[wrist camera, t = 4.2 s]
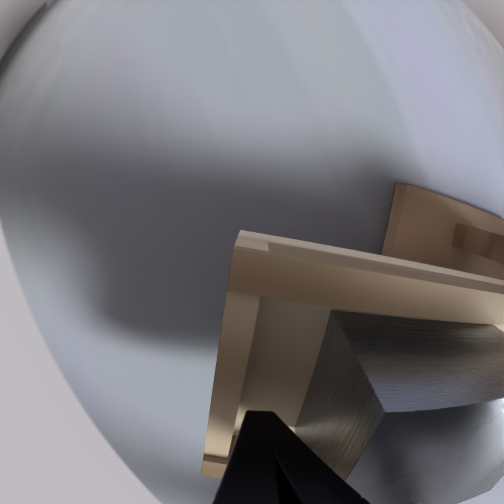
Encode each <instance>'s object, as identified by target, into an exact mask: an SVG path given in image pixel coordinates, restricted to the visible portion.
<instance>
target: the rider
mask: <svg viewBox="0 0 504 504" xmlns="http://www.w3.org/2000/svg"><path fill="white" fill-rule="evenodd" d="M294 429H295V434H296V435H297V436H298V437H299V438H300V439H301V440H302V441H303V442H304V443H305V444H306V445H307V446H308V447H309V448H310V449H311V450H312V451H313V452H314V453H315V454H316V455H317V456H318V457H319V458H320V459H322V460H323V461H324V462H325V463H326V464H327V465H328V466H329V467H330V468H331V469H332V470H333V471H334V472H335V473H337V474H338V475H339V476H340V477H341V478H342V479H343V480H344V481H345V482H346V483H348V484H349V485H350V486H351V487H352V488H353V489H354V490H355V491H357V492H358V493H359V494H360V495H361V496H362V497H361V498H365V499H366V500H367V501H368V502H370V503H371V504H457V503H460V502H463V501H465V500H468V499H471V498H473V497H476V496H478V495H480V494H482V493H485V492H487V491H489V490H491V489H492V488H493V487H494V485H495V484H496V483H497V482H498V481H499V480H500V479H501V478H502V476H503V475H504V332H503V331H502V330H500V329H499V328H497V327H496V326H495V325H492V324H477V323H462V322H448V321H436V320H424V319H413V318H402V317H392V316H382V315H373V314H364V313H355V312H347V311H339V310H331V312H330V316H329V319H328V323H327V327H326V330H325V334H324V337H323V341H322V344H321V348H320V351H319V355H318V358H317V361H316V365H315V368H314V371H313V374H312V377H311V380H310V384H309V387H308V390H307V393H306V396H305V399H304V402H303V405H302V408H301V411H300V413H299V416H298V419H297V422H296V425H295V427H294Z"/></svg>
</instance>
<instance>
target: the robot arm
mask: <svg viewBox="0 0 504 504" xmlns="http://www.w3.org/2000/svg"><path fill="white" fill-rule="evenodd" d="M361 497H362V496H361V495H360V494H359V493H358V492H357V491H355V490H354V489H353V488H352V487H351V486H350V485H349V484H348V483H346V482H345V481H344V480H343V479H342V478H341V477H340V476H339V475H338V474H337V473H335V472H334V471H333V470H332V469H331V468H330V467H329V466H328V465H327V464H326V463H325V462H324V461H323V460H322V459H320V458H319V457H318V456H317V455H316V454H315V453H314V452H313V451H312V450H311V449H310V448H309V447H308V446H307V445H306V444H305V443H304V442H303V441H302V440H301V439H300V438H299V437H298V436H297V435H296V434H295V433H294V432H293V431H292V430H291V429H290V428H289V427H288V426H287V425H286V424H285V423H284V422H283V421H282V420H281V418H280V417H279V416H278V415H277V414H276V413H275V412H273V411H257V410H247V411H246V412H245V415H244V418H243V421H242V424H241V427H240V429H239V432H238V435H237V438H236V441H235V444H234V447H233V449H232V452H231V455H230V458H229V460H228V463H227V466H226V469H225V471H224V474H223V477H222V480H221V482H220V485H219V488H218V490H217V493H216V495H215V498H214V501H213V503H212V504H371V503H370V502H368V501H367V500H366V499H365V498H361Z"/></svg>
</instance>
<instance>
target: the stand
mask: <svg viewBox="0 0 504 504" xmlns="http://www.w3.org/2000/svg"><path fill="white" fill-rule="evenodd" d="M381 255H382V256H387V257H393V258H398V259H403V260H408V261H413V262H418V263H423V264H428V265H433V266H438V267H443V268H448V269H452V270H457V271H462V272H467V273H472V274H476V275H481V276H486V277H490V278H495V279H500V280H504V219H501V218H499V217H497V216H494V215H492V214H489V213H487V212H484V211H482V210H479V209H477V208H474V207H472V206H469V205H467V204H464V203H461V202H459V201H456V200H453V199H450V198H448V197H445V196H442V195H439V194H436V193H433V192H430V191H427V190H424V189H421V188H418V187H415V186H412V185H409V184H404V183H396V185H395V190H394V196H393V201H392V207H391V212H390V217H389V221H388V226H387V231H386V235H385V240H384V244H383V248H382V253H381Z"/></svg>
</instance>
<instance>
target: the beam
mask: <svg viewBox="0 0 504 504" xmlns="http://www.w3.org/2000/svg"><path fill="white" fill-rule="evenodd" d="M331 310H339V311H347V312H355V313H364V314H373V315H382V316H392V317H402V318H413V319H424V320H436V321H448V322H462V323H477V324H492V325H495V326H496V327H497V328H499V329H500V330H502V331H503V332H504V280H500V279H495V278H490V277H486V276H481V275H476V274H472V273H467V272H462V271H457V270H452V269H448V268H443V267H438V266H433V265H428V264H423V263H418V262H413V261H408V260H403V259H398V258H393V257H387V256H382V255H377V254H372V253H367V252H361V251H356V250H351V249H345V248H340V247H334V246H329V245H324V244H318V243H313V242H307V241H301V240H296V239H290V238H285V237H279V236H273V235H267V234H262V233H256V232H250V231H244V230H240V232H239V234H238V237H237V240H236V242H235V245H234V248H233V253H232V259H231V266H230V272H229V278H228V285H227V295H226V301H225V308H224V314H223V321H222V328H221V335H220V341H219V348H218V355H217V362H216V369H215V376H214V383H213V390H212V398H211V405H210V412H209V420H208V427H207V435H206V442H205V450H204V457H203V463H202V471H201V476H206V477H212V478H218V479H222V477H223V474H224V471H225V469H226V466H227V463H228V460H229V458H230V455H231V452H232V449H233V447H234V444H235V441H236V438H237V435H238V432H239V429H240V427H241V424H242V421H243V418H244V415H245V412H246V411H247V410H257V411H273V412H275V413H276V414H277V415H278V416H279V417H280V418H281V420H282V421H283V422H284V423H285V424H286V425H287V426H288V427H289V428H290V429H291V430H292V431H293V432H294V433H295V429H294V427H295V425H296V422H297V419H298V416H299V413H300V411H301V408H302V405H303V402H304V399H305V396H306V393H307V390H308V387H309V384H310V380H311V377H312V374H313V371H314V368H315V365H316V361H317V358H318V355H319V351H320V348H321V344H322V341H323V337H324V334H325V330H326V327H327V323H328V319H329V316H330V312H331Z"/></svg>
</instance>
